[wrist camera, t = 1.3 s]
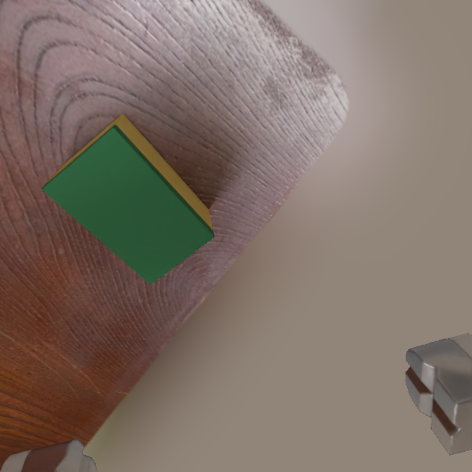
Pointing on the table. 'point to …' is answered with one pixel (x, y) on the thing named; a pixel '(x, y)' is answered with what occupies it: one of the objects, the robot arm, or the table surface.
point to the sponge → (132, 201)
